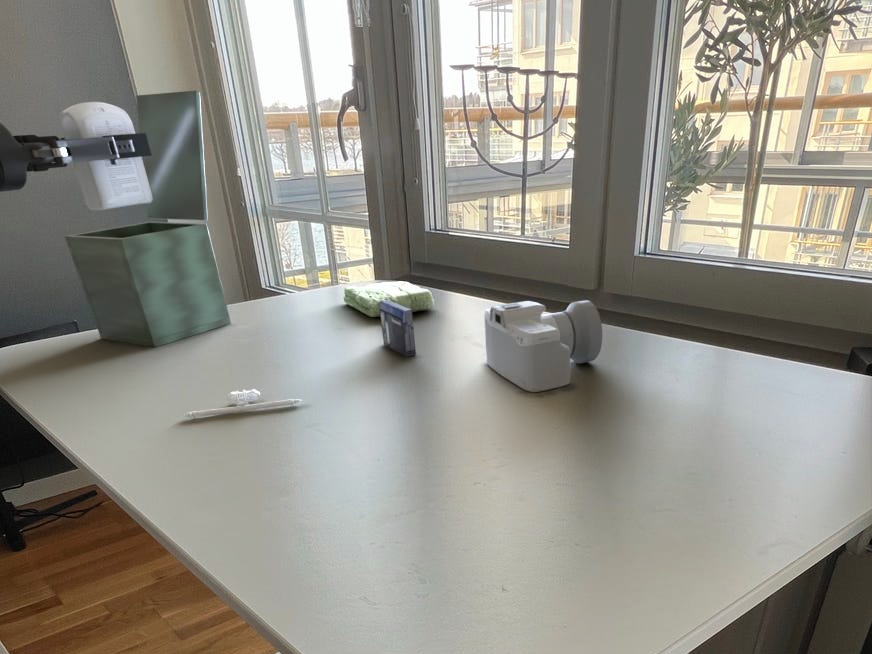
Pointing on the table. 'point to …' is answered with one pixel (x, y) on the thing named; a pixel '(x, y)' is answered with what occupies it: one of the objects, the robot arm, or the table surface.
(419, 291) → the washcloth
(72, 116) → the white rounded flat block
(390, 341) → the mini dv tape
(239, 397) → the picture light
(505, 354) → the digital camera
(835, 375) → the table surface
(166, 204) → the lid
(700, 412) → the table surface
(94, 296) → the green open box
